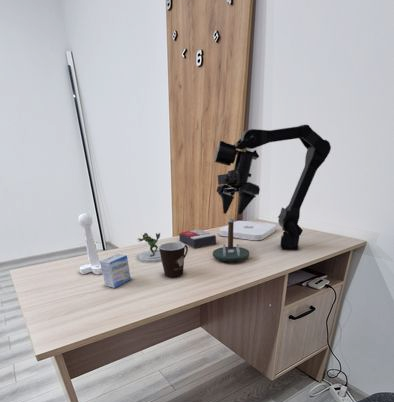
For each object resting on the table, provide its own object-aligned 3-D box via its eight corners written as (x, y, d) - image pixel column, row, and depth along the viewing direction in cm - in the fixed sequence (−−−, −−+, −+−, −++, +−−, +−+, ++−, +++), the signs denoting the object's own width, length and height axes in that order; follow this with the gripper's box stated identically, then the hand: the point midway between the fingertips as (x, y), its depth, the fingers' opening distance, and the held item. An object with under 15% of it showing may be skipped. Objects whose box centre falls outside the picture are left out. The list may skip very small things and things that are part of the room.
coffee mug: (167, 281, 99) (164, 252, 94) (158, 272, 106) (155, 245, 101) (198, 274, 103) (197, 245, 98) (187, 266, 110) (186, 239, 105)
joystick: (108, 264, 114) (98, 210, 104) (115, 270, 109) (105, 213, 99) (79, 271, 109) (65, 215, 99) (85, 278, 104) (70, 219, 93)
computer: (260, 241, 133) (260, 235, 132) (217, 235, 144) (217, 230, 142) (277, 229, 149) (278, 224, 147) (237, 225, 159) (237, 220, 158)
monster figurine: (132, 257, 120) (128, 232, 115) (155, 250, 128) (153, 225, 123) (151, 264, 113) (148, 237, 108) (174, 256, 120) (172, 230, 115)
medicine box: (114, 288, 95) (109, 262, 91) (104, 286, 98) (99, 260, 93) (131, 279, 101) (127, 255, 97) (121, 277, 103) (117, 253, 99)
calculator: (199, 228, 142) (216, 233, 130) (200, 237, 144) (216, 243, 132) (178, 232, 137) (193, 238, 126) (179, 241, 139) (194, 248, 128)
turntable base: (244, 254, 119) (244, 251, 119) (243, 263, 111) (243, 260, 110) (219, 253, 121) (219, 250, 120) (216, 262, 113) (216, 259, 112)
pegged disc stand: (251, 260, 109) (253, 227, 103) (212, 261, 110) (212, 228, 103) (247, 248, 121) (249, 218, 115) (212, 249, 122) (212, 218, 115)
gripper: (209, 164, 111) (200, 208, 114) (241, 158, 96) (229, 208, 99) (233, 174, 117) (224, 215, 120) (265, 169, 102) (254, 216, 105)
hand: (231, 213), depth 111 cm, fingers open, 9 cm apart
